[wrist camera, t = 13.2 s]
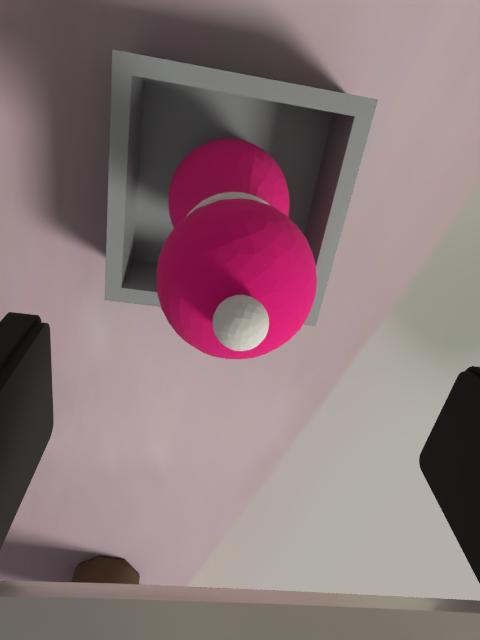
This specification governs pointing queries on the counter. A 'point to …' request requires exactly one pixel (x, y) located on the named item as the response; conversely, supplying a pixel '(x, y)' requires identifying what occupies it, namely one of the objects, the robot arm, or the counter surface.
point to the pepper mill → (234, 254)
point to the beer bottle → (106, 571)
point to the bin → (213, 124)
